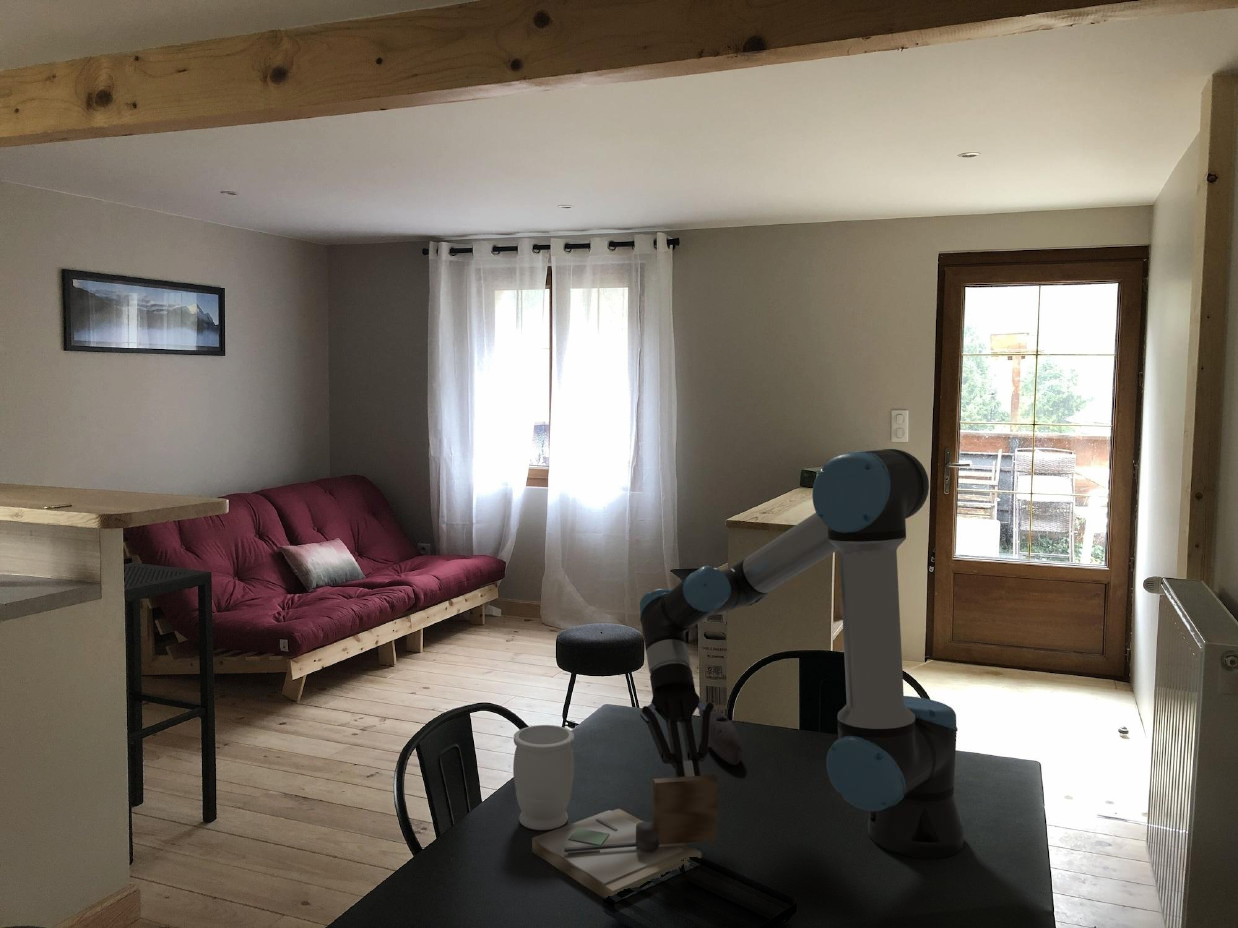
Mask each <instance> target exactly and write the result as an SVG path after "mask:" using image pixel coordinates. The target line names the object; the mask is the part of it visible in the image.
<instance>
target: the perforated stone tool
mask: <svg viewBox="0 0 1238 928" xmlns="http://www.w3.org/2000/svg"><path fill="white" fill-rule="evenodd" d="M742 745H743V744H742V740H741V737H740V735H739V733H738V731H737V729H736V727H735V725H734V724H733V722H732V721H731V720H730V719H728V717H727V716H725V714H724V713H720V712H711V714H710V721H709V738H708V746H710V747H709V748H711V749H712V751H713V752H714V753H715V754H716V755H717V756H718V757H719V758H721V759H722V760H723V761H724V762H726V763H728V764H730V765H732V766H733V765H734V766H736V765H739V763H740V762H741V760H742V755H743V746H742Z"/></svg>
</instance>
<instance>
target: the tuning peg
mask: <svg viewBox="0 0 1238 928" xmlns="http://www.w3.org/2000/svg"><path fill="white" fill-rule="evenodd" d="M718 784H719V778H718V777H717V775H716V774H707V775H700V776H689V777H676V776H675V777H661V778H652V821H643V822H640V823H638V824H637V825H636V842H632V843H619V844H606V845H594V846H581V847H568V848H564V851H565V852H573V851H586V850H598V849H611V848H624V847H637V848H638V849H640V850H643V851H652V850H655V849H657V848H658V847H659V845H666V844H679V843H685V844H689V843H702V842H703V843H704V842H712V841H713V842H715V841H717V839H718V837H717V836H718V833H717V832H718V797H719V796H718V791H719V790H718Z"/></svg>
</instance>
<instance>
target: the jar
mask: <svg viewBox="0 0 1238 928" xmlns="http://www.w3.org/2000/svg"><path fill="white" fill-rule="evenodd" d="M574 741H575V734H574V732H573V731H572V730H571V729H568V728H566V727H564V726H559V725H553V724H552V725H551V724H540V725H539V724H537V725H530V726H528V727H527V726H526V727H523V728H521V729H518V730H517V731H516V732H515V733H514V734H513V743H514V746H516V747H515V751H514V756H513V764H512V765H513V766H512V767H513V768H512V772H513V775H512V776H513V781H514V782H513V783H514V787H515V794H516V799H517V800H516V801H517V804H518V806H519V809H520V811H521V813H520V814H519V816H518V820H519V822H520V824H521V825H522V826H523V827H525V828H528V829H530V830H536V831H552V830H556V829H559V828H561V827H563V825H565V824H566V823H567V822H568V820H569V815H568V813H567V811H566V810H567V808H568V806H569V805H570V800H571V797H572V789H573V783H574V777H575V757H574V752H573V748H572V745H573V744H574Z"/></svg>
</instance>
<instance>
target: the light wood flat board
mask: <svg viewBox="0 0 1238 928" xmlns="http://www.w3.org/2000/svg"><path fill="white" fill-rule="evenodd" d="M640 822H644V821H643V820H641V819H639V818H637V817H635V816H633V815H632V814H630V813H628V812H626V811H624V810H623V809H620V808H616V809H612V810H610V809H609V810H605V811H603V812H599V813H598V814H594V815H593V816H592V815H591V816H589V817H587V818H584V819H581V820H579V821H575V822H573V823H569V824H568V825H565V826H561V827H558V828H555V829H552V830H549V831H547V832H545V833H542V834H540V835H536V836H534V837H532V838H531V841H532V842H531V846H532V847H531V848H532V850H531V851H532V853H533V854H534V855H536V856H538V857H539V858H540V859H543V860H544V861H545V862H547V863H549V864H550V865H552V866H553V867H555V868H556V869H558V870H559V871H561V872H562V873H564V874H565V875H567V876H569V877H570V878H572V879H574V880H575V881H576V882H577V883H580V884H581V885H582V886H584V887H586V888H587V889H589V890H590V891H592V892H594V893H595V894H596V895H598V896H600V897H601V898H603V899H604V900H606V899H605V898H607V897H608V896H613V895H615V894H617V893H618V892H620V891H623V890H624V889H628V888H635V887H640V886H641V885H643V884H644V883H646V882H647V881H651V879H653V878H654V879H655V878H660V877H661V875H662V874H663V875H664V874H665V873H666V872H668V871H672V870H675V869H678V868H679V867H680V868H681V866H682V865H683V864H684V865H686V866H689V864H690V863H689V862H688V861H687V860H689V859H690V858H689V857H698V858H703V857H702V856H703V854H702V853H703V852H702V851H700V850H698V849H696V848H694V847H692V846H690V845H689V844H688V843H679V844H666V845H659V847H658V848H657V849H655V850H652V851H643V850H640V849H638V848H637V847H624V848H611V849H598V850H586V851H573V852H565V851H564V848H568V847H581V846H594V845H606V844H619V843H632V842H636V825H637V824H638V823H640ZM685 858H686V859H685ZM683 859H684V861H681V860H683Z"/></svg>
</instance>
